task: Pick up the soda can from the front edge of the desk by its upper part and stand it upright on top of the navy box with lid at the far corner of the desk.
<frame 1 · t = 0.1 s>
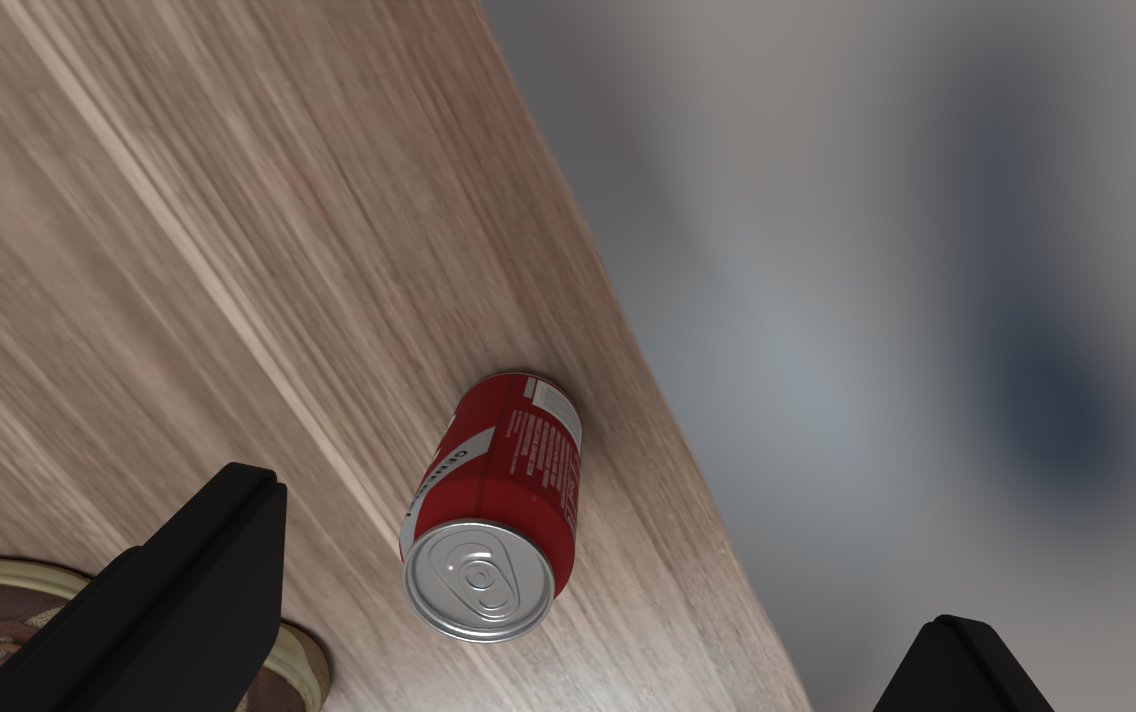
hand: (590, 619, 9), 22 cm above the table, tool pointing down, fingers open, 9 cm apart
boat shoe: (107, 634, 41), on the table
soda can: (519, 422, 34), on the table
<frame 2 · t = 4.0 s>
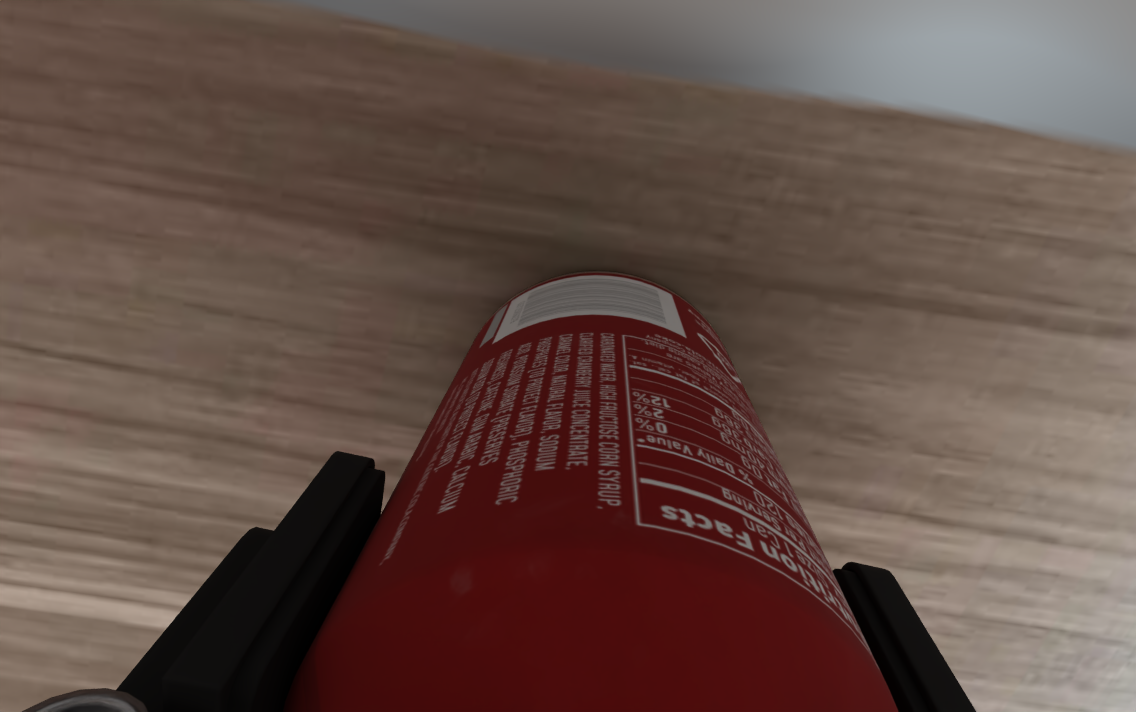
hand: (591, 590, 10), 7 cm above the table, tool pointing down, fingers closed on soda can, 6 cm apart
soda can: (596, 387, 16), on the table, touching gripper
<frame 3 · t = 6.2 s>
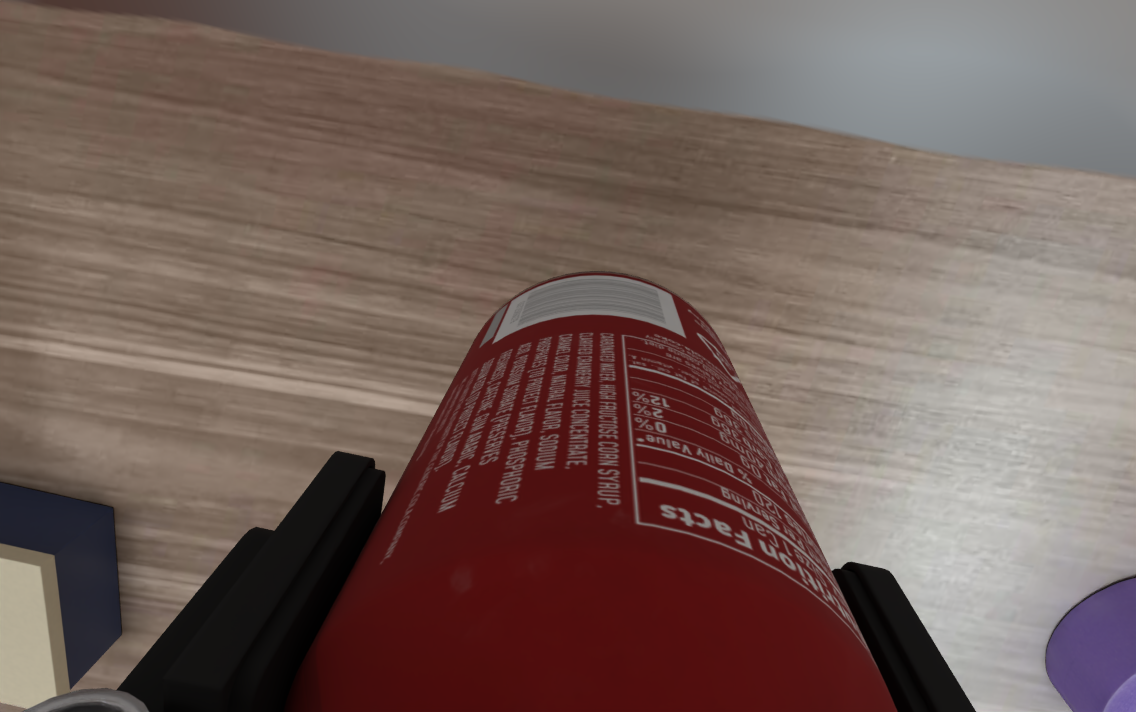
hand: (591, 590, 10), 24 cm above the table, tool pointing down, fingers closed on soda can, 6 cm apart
navy box with lid: (36, 556, 42), on the table
soda can: (596, 387, 16), point 17 cm above the table, touching gripper
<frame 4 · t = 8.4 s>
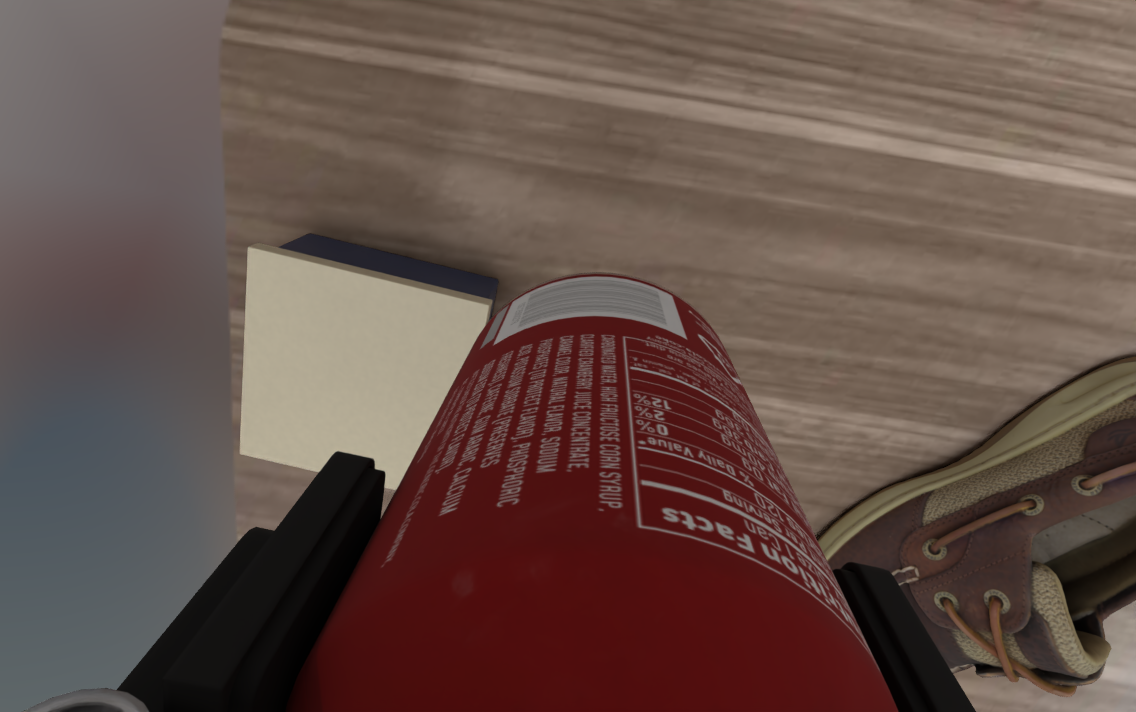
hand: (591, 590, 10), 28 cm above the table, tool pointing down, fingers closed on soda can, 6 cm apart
boat shoe: (954, 522, 41), on the table
navy box with lid: (392, 343, 38), on the table
soda can: (597, 388, 16), point 20 cm above the table, touching gripper
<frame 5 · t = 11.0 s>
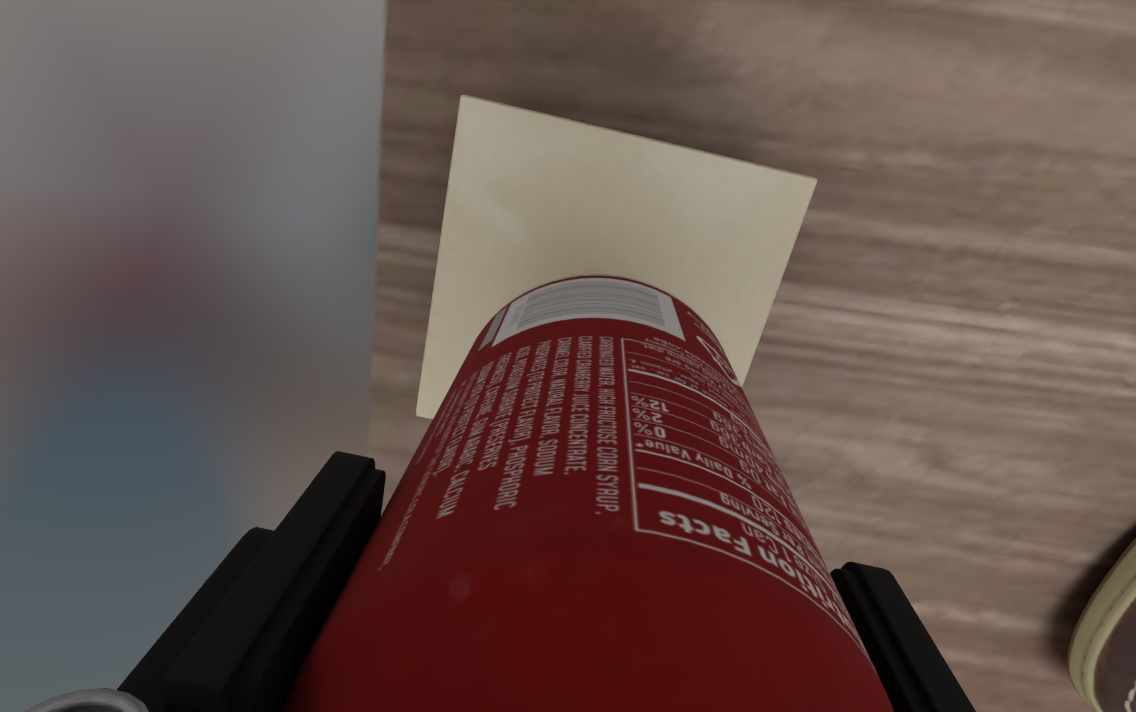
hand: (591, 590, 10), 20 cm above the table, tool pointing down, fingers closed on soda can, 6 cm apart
navy box with lid: (599, 267, 28), on the table
soda can: (596, 389, 16), point 13 cm above the table, touching gripper
when the fingers open (13 cm above the table, at t = 13.1 s): soda can stays where it is, resting on navy box with lid.
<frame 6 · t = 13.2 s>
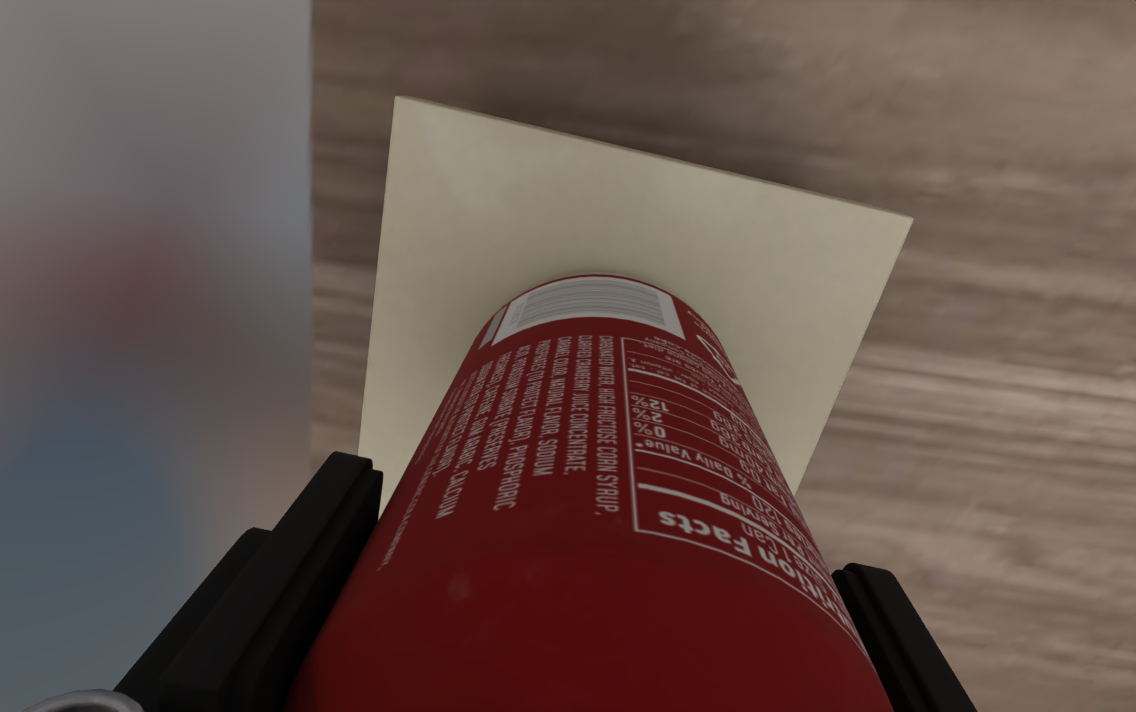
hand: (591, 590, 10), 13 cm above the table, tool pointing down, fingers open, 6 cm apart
navy box with lid: (598, 318, 22), on the table
soda can: (596, 388, 16), point 6 cm above the table, touching navy box with lid
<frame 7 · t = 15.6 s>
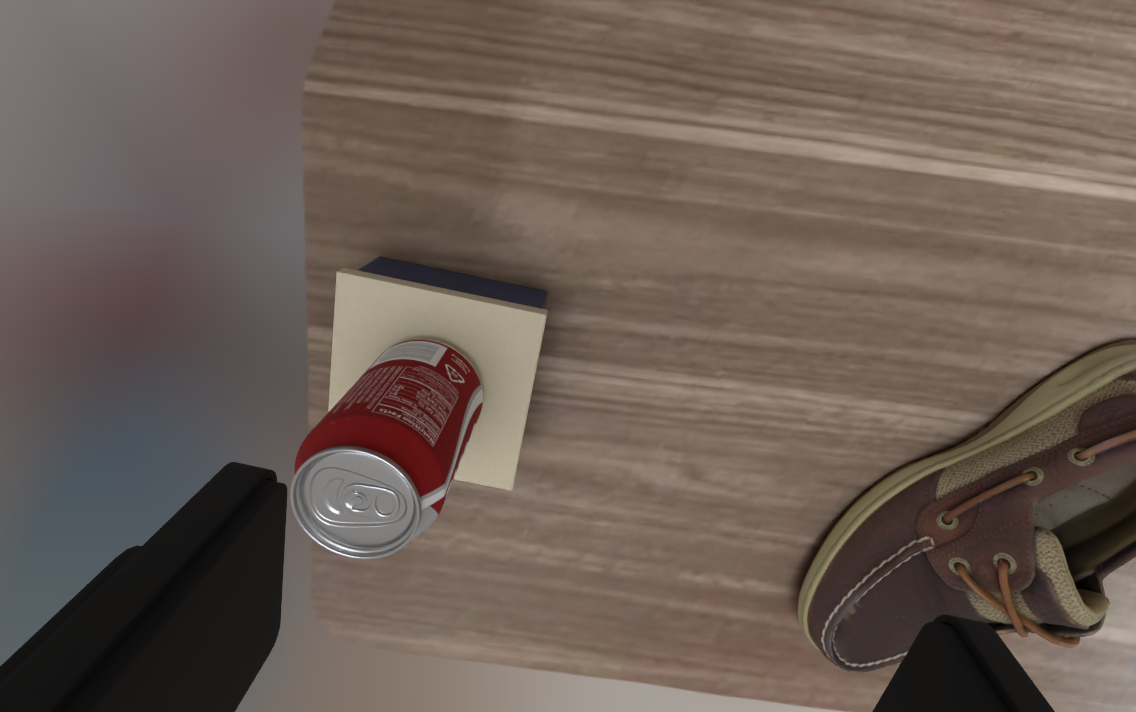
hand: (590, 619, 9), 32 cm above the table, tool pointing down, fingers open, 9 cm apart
boat shoe: (965, 497, 45), on the table
navy box with lid: (452, 351, 43), on the table
soda can: (430, 386, 37), point 6 cm above the table, touching navy box with lid
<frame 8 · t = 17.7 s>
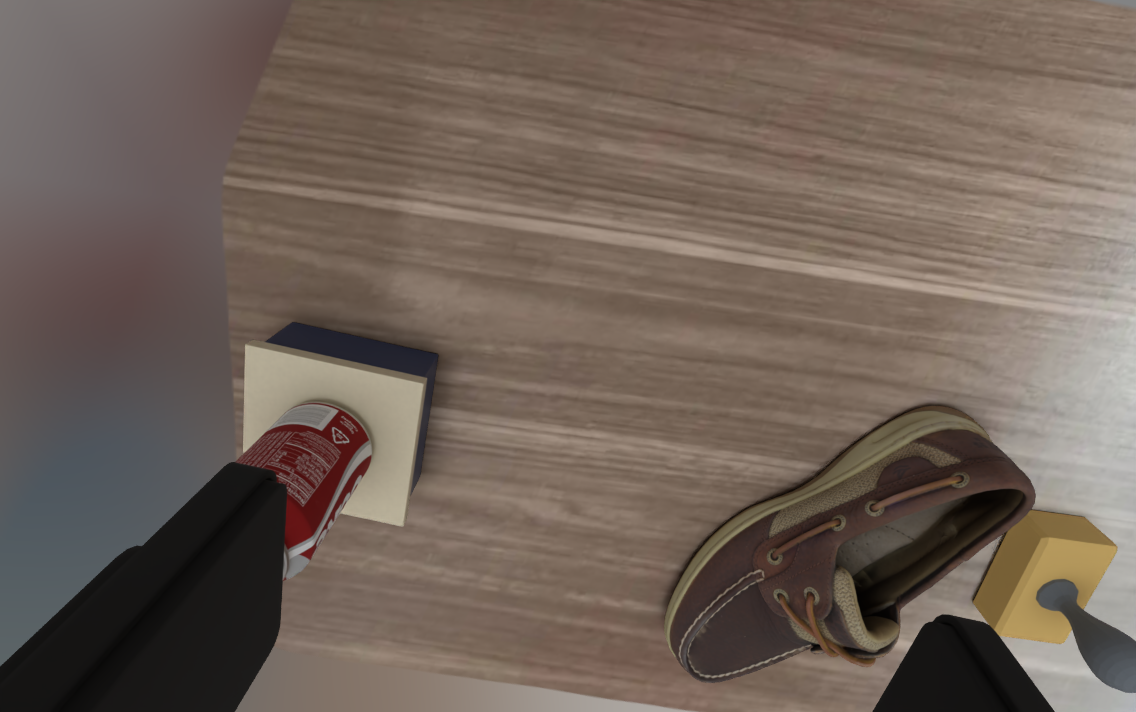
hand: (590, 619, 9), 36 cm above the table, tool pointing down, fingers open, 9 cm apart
rubber stamp: (1024, 559, 52), on the table
boat shoe: (807, 533, 52), on the table
navy box with lid: (359, 402, 49), on the table
soda can: (329, 438, 44), point 6 cm above the table, touching navy box with lid
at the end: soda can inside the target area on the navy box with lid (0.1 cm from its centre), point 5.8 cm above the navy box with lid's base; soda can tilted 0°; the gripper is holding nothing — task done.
